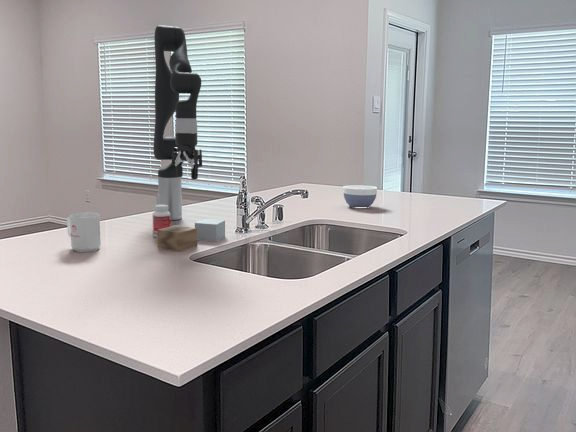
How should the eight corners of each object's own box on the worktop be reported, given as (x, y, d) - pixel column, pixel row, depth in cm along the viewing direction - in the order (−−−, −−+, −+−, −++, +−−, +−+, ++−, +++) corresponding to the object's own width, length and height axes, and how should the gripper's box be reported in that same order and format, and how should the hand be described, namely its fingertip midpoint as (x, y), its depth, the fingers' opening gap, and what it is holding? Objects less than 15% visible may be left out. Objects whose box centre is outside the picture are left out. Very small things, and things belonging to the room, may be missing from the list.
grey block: (194, 239, 202) (194, 222, 201) (204, 235, 210) (204, 218, 209) (216, 241, 200) (216, 224, 199) (225, 236, 208) (225, 220, 207)
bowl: (381, 206, 279) (382, 186, 277) (367, 211, 265) (368, 190, 264) (351, 203, 287) (352, 183, 285) (336, 207, 274) (337, 187, 272)
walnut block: (157, 247, 191) (157, 229, 189) (176, 242, 198) (175, 225, 197) (179, 251, 186) (178, 232, 185) (197, 246, 194) (196, 228, 193)
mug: (106, 248, 188) (105, 214, 186) (85, 254, 181) (83, 218, 179) (80, 243, 194) (78, 210, 192) (58, 249, 186) (56, 214, 184)
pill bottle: (173, 237, 206) (173, 206, 204) (156, 238, 203) (156, 207, 201) (166, 233, 211) (166, 203, 209) (150, 235, 208) (149, 204, 206)
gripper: (165, 130, 205) (166, 177, 208) (190, 132, 196) (190, 180, 199) (182, 130, 211) (183, 175, 214) (207, 132, 201) (208, 179, 204)
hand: (186, 178), depth 206 cm, fingers open, 8 cm apart
